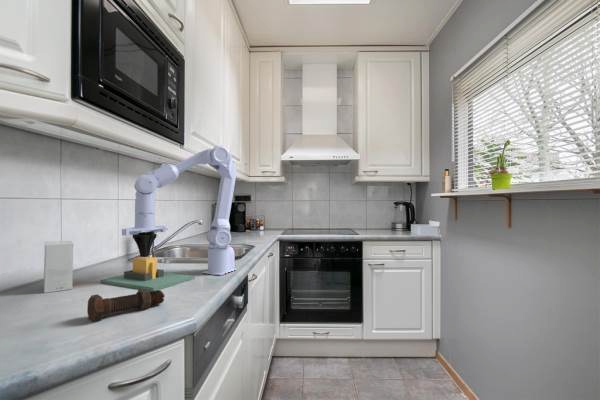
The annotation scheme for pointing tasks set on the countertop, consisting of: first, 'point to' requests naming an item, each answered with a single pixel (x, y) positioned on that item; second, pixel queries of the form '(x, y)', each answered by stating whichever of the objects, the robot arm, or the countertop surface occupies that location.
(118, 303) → the bolt
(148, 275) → the board
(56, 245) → the small box
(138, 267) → the yellow arched block
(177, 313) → the countertop surface
